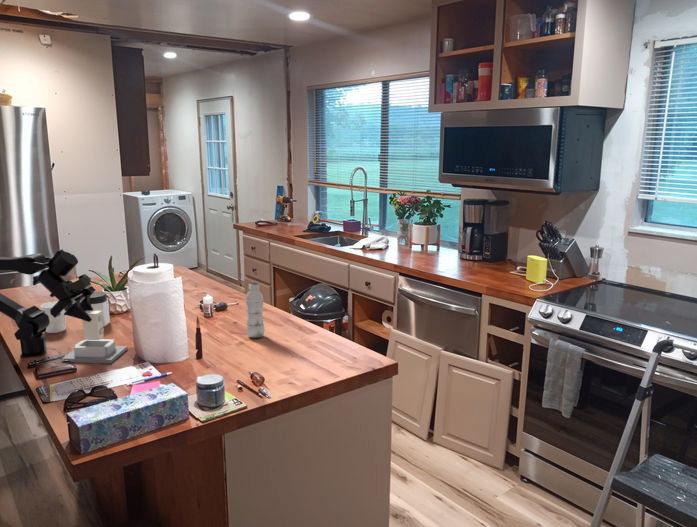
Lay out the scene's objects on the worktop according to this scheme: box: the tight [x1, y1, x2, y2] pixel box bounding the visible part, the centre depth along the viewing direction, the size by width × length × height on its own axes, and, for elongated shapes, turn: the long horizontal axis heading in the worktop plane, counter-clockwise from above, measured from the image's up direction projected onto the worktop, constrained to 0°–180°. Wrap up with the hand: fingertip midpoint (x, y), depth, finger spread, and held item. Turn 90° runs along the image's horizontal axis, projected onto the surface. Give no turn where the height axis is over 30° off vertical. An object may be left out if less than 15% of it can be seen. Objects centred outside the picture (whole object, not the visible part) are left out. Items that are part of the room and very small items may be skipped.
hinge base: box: [61, 338, 128, 364], centre depth 182 cm, size 16×12×4 cm
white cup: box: [40, 300, 67, 334], centre depth 205 cm, size 8×8×10 cm
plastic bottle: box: [244, 282, 266, 339], centre depth 200 cm, size 6×7×20 cm
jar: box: [90, 291, 111, 328], centre depth 211 cm, size 9×8×12 cm
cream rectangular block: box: [81, 310, 105, 340], centre depth 180 cm, size 6×3×9 cm, turn 87°
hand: (93, 319), depth 180 cm, fingers closed on cream rectangular block, 3 cm apart
